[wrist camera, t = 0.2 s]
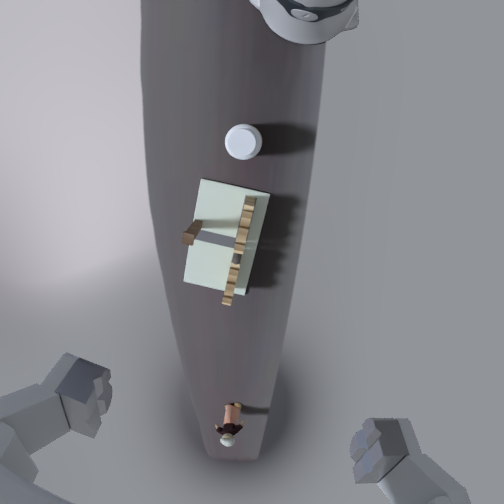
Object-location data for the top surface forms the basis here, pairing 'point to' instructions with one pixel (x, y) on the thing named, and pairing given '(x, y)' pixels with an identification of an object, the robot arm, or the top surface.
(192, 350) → the top surface
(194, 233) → the corner post
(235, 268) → the notched wooden plank
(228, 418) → the grandmother figurine
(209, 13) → the top surface
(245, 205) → the fence fixed
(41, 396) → the robot arm
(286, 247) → the top surface
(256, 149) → the supplement bottle
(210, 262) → the card
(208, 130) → the top surface
